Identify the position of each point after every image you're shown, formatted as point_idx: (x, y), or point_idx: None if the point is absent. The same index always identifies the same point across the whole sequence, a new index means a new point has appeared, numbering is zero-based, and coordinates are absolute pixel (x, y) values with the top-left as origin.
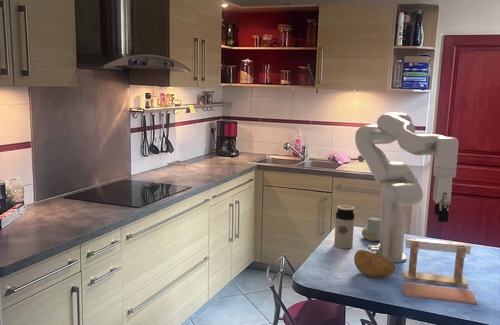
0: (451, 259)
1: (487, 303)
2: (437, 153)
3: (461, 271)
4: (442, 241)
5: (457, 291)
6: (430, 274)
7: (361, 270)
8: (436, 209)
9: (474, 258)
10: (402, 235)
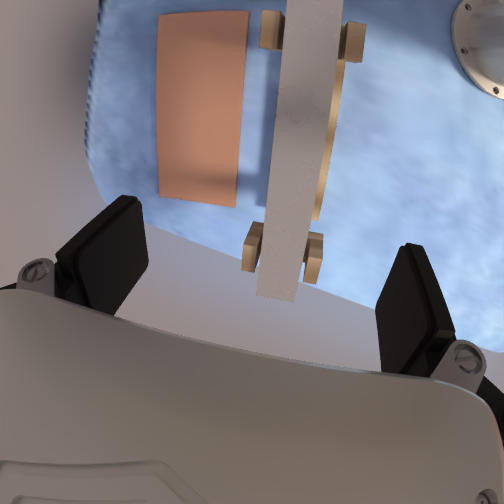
0: (479, 243)
1: (177, 220)
2: None
3: None
4: (306, 192)
5: (216, 166)
6: (331, 116)
7: None
8: (410, 289)
9: (472, 301)
10: None
